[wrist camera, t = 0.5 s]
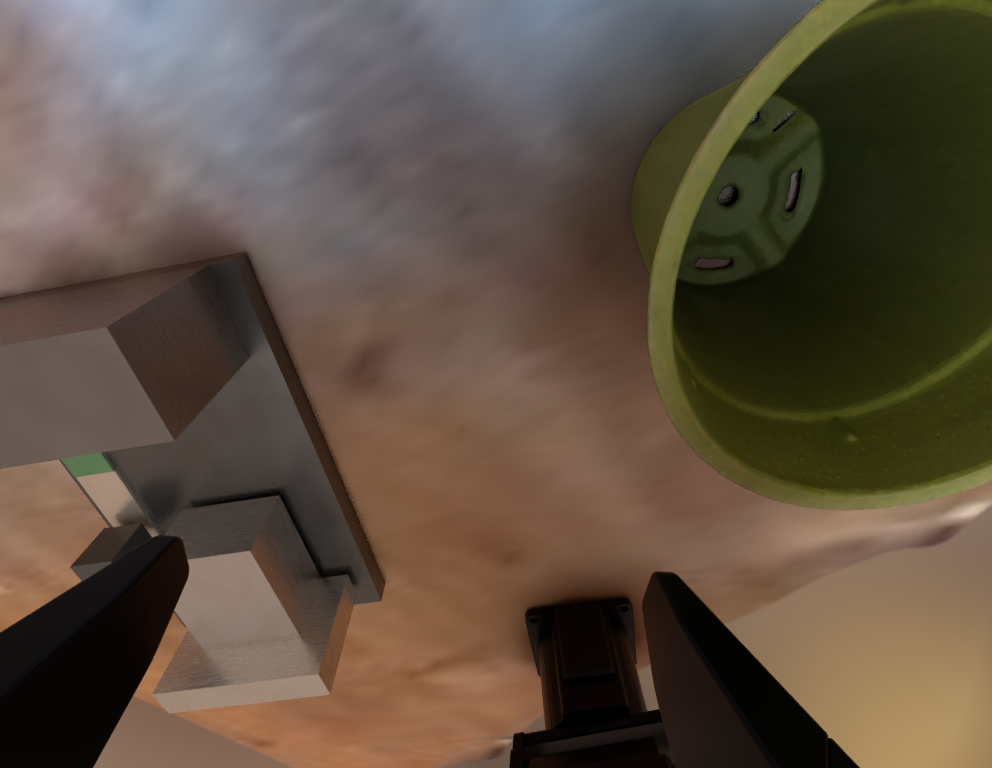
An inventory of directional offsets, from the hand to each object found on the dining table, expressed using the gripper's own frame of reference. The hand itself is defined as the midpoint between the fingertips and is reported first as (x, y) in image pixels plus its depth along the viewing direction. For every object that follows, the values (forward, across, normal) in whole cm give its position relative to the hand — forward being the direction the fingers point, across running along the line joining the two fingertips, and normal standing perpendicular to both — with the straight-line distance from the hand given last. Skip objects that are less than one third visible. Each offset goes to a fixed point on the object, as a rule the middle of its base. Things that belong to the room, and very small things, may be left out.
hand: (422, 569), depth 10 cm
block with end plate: (+13, +10, +14) cm, 22 cm away
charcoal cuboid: (+12, +16, +13) cm, 24 cm away
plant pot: (+14, -10, -6) cm, 18 cm away
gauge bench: (+14, +12, +10) cm, 21 cm away
